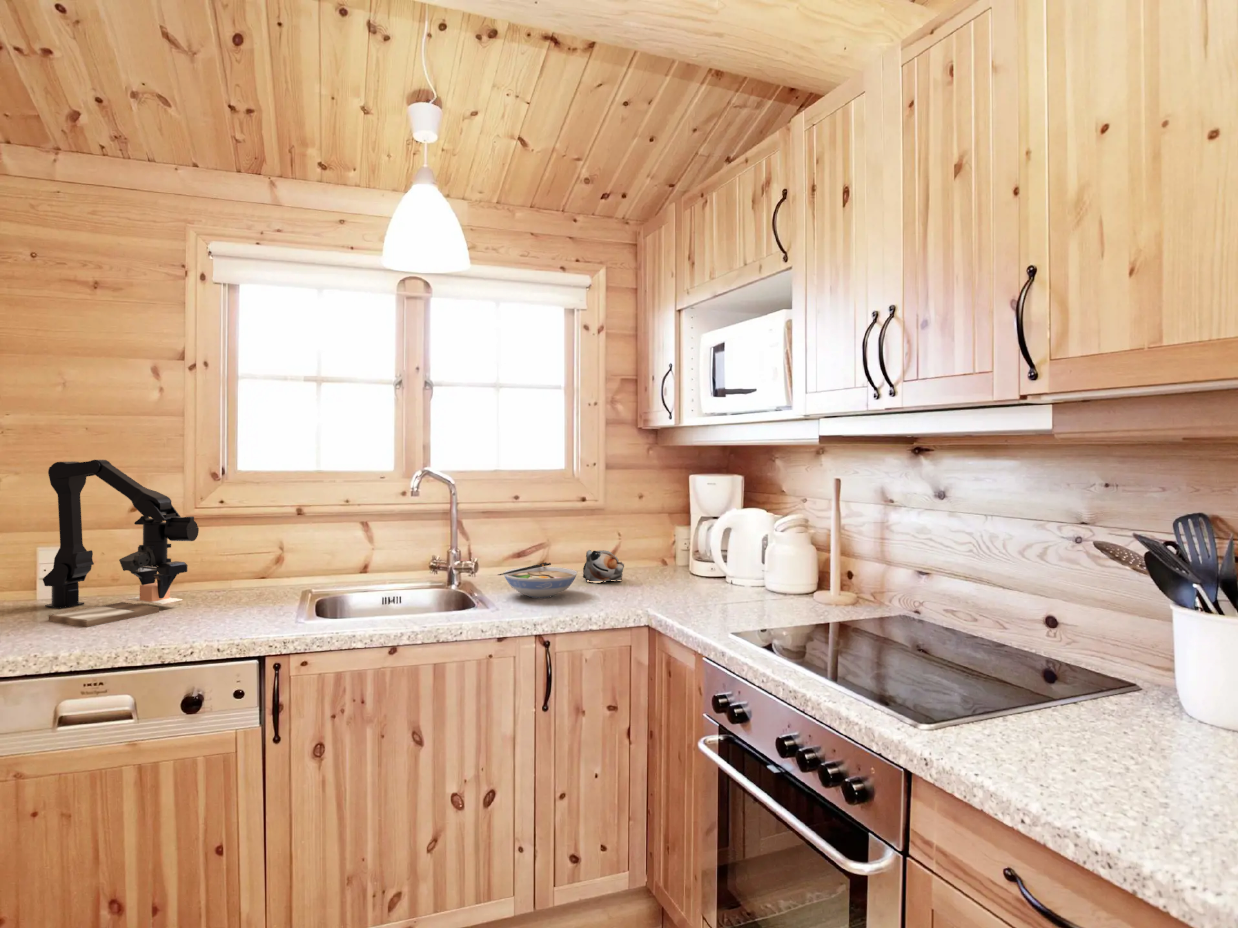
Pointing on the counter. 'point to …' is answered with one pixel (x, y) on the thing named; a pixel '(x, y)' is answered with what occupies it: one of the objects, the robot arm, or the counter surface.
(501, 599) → the counter surface
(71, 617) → the board
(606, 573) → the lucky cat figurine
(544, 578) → the ramen bowl
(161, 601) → the butter dish
